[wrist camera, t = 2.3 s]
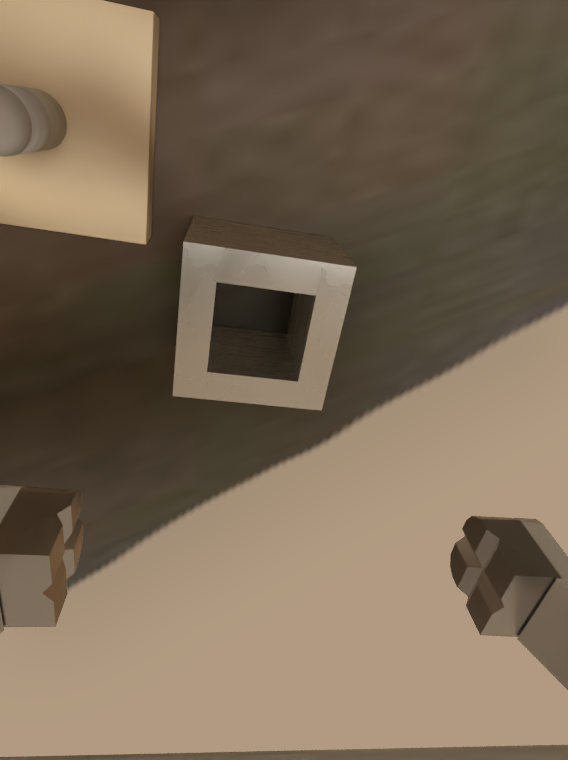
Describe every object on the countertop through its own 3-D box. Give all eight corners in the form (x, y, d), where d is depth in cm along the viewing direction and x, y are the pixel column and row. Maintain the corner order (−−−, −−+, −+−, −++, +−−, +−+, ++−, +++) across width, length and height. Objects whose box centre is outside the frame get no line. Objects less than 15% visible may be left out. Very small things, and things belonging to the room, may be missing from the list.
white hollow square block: (306, 359, 25) (321, 410, 21) (183, 345, 24) (172, 396, 20) (332, 237, 22) (356, 267, 18) (193, 215, 21) (183, 241, 17)
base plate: (151, 236, 21) (124, 275, 16) (-43, 207, 20) (-141, 239, 15) (159, 19, 18) (128, -22, 12) (-79, -34, 16) (-226, -105, 11)
